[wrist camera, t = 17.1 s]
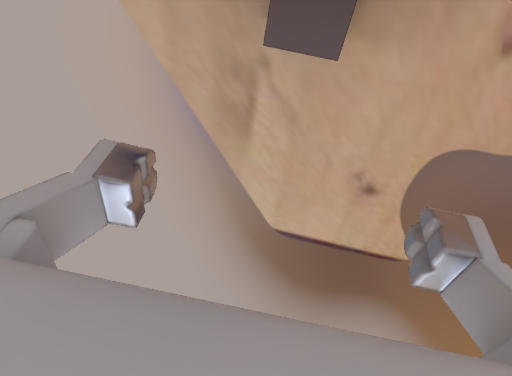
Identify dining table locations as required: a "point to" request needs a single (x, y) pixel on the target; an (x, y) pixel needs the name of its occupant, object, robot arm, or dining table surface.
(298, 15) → the brownie
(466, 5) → the dining table surface
